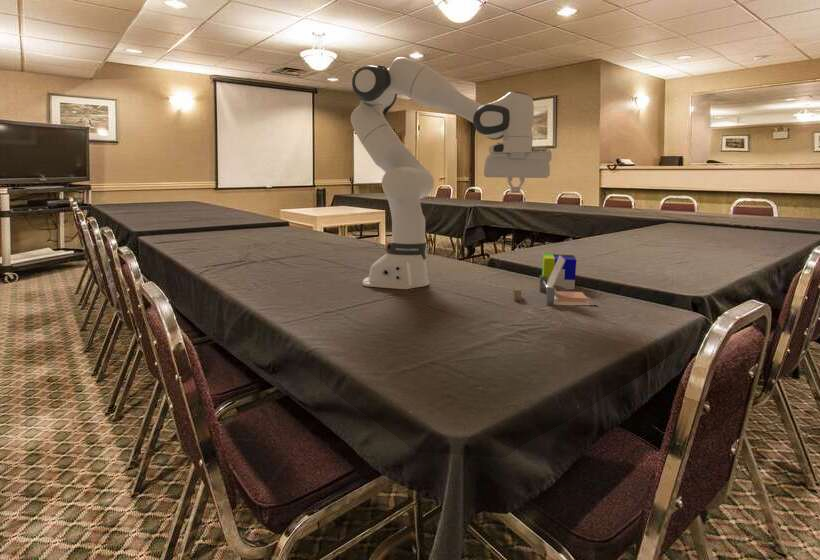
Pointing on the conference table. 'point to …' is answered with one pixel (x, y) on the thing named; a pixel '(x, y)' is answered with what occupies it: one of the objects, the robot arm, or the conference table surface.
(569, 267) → the puzzle toy
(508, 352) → the conference table surface
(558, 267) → the flipper
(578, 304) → the mat
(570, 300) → the tile
